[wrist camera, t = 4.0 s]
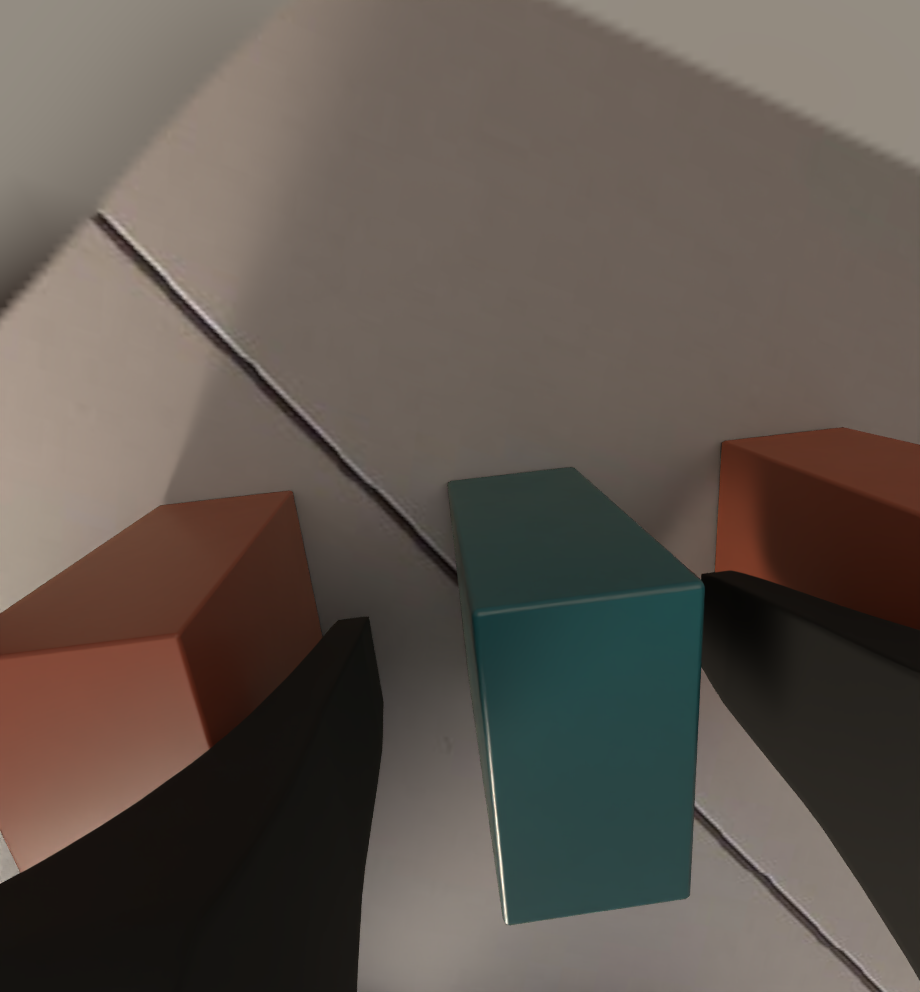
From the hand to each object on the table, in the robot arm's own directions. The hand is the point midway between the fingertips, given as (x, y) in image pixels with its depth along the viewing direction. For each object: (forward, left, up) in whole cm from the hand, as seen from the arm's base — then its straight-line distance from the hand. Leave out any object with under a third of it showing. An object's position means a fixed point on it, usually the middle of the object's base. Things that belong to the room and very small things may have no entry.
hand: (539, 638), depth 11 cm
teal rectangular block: (0, 0, -3) cm, 3 cm away
